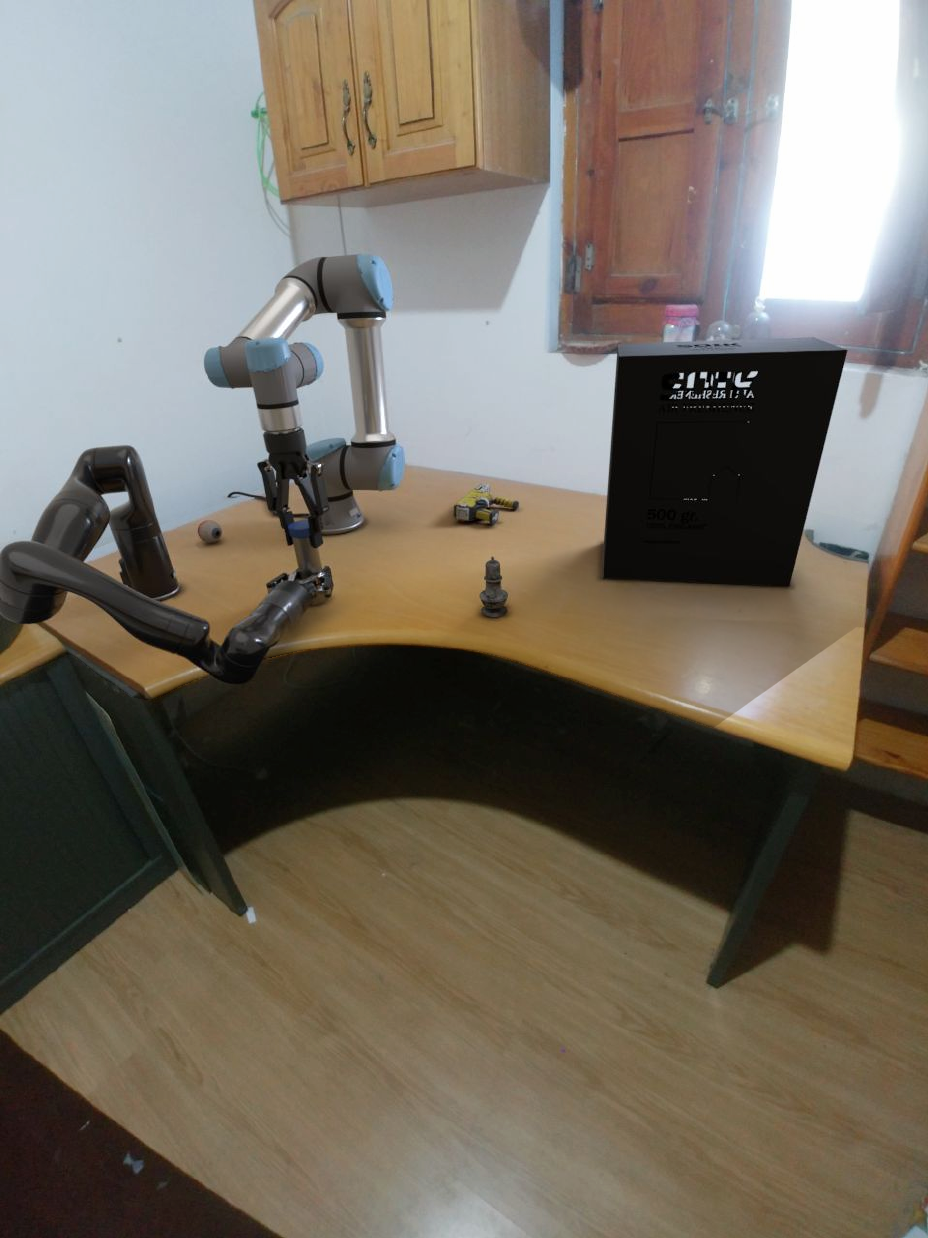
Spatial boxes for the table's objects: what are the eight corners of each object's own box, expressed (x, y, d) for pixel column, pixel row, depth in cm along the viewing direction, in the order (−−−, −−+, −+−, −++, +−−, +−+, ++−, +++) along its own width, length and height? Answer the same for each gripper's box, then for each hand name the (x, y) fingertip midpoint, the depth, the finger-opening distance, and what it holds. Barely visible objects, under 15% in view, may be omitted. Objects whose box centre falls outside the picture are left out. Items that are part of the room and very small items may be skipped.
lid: (309, 525, 126) (307, 517, 125) (322, 532, 122) (320, 524, 121) (284, 533, 123) (282, 524, 122) (297, 540, 119) (295, 531, 118)
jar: (321, 593, 133) (307, 520, 125) (331, 600, 130) (318, 526, 122) (301, 600, 131) (286, 526, 122) (311, 607, 128) (296, 532, 119)
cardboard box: (767, 547, 142) (813, 337, 119) (789, 586, 125) (847, 349, 102) (603, 542, 149) (617, 343, 127) (603, 578, 132) (618, 356, 110)
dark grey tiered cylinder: (506, 618, 119) (505, 563, 113) (477, 616, 120) (474, 562, 114) (510, 604, 124) (509, 550, 118) (482, 602, 125) (480, 549, 119)
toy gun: (527, 488, 179) (479, 481, 183) (505, 513, 159) (452, 504, 162) (525, 503, 181) (478, 496, 185) (503, 529, 161) (451, 520, 165)
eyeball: (211, 547, 159) (205, 526, 156) (196, 543, 162) (190, 522, 159) (229, 539, 163) (224, 518, 160) (214, 536, 166) (209, 515, 164)
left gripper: (252, 623, 118) (289, 583, 133) (321, 626, 116) (350, 586, 130) (243, 589, 115) (282, 552, 129) (314, 591, 112) (345, 554, 127)
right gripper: (336, 425, 112) (353, 541, 124) (254, 423, 118) (278, 534, 130) (314, 435, 106) (335, 556, 118) (229, 432, 112) (257, 547, 124)
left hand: (316, 569), depth 130 cm, fingers closed on jar, 4 cm apart
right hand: (305, 544), depth 124 cm, fingers closed on lid, 5 cm apart
